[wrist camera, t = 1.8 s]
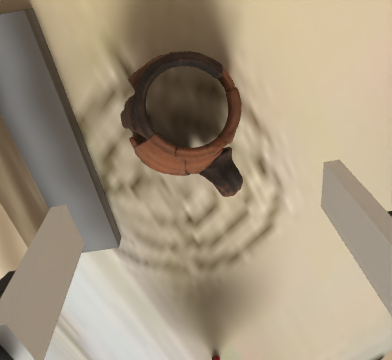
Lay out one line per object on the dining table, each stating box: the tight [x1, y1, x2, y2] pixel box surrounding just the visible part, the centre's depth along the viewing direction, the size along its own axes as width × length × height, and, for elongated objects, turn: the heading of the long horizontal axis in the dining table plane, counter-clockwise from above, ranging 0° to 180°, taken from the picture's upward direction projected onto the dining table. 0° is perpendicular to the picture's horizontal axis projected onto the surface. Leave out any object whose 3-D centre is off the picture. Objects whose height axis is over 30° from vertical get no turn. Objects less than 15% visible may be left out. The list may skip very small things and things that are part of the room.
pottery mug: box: [121, 51, 243, 197], centre depth 25 cm, size 12×9×8 cm
